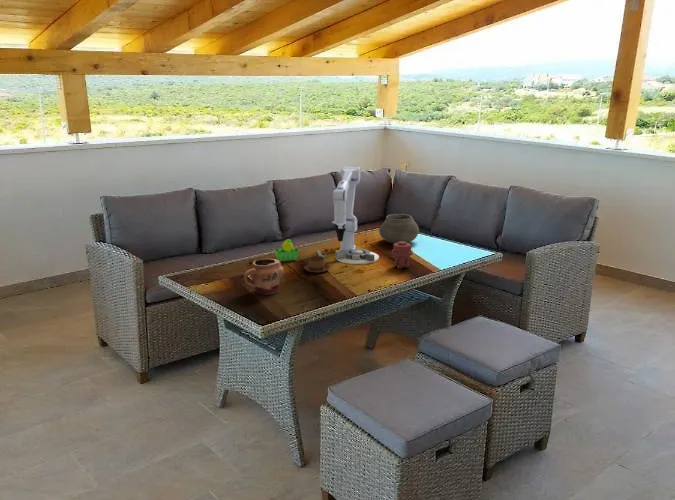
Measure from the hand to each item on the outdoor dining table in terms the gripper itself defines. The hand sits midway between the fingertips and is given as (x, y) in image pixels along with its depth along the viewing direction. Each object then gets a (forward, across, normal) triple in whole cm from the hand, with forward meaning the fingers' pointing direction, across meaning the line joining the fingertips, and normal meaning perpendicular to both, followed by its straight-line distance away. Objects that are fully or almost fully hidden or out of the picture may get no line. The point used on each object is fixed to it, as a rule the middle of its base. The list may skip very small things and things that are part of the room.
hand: (340, 239), depth 309 cm
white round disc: (+9, +2, +9) cm, 13 cm away
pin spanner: (+10, -4, -10) cm, 14 cm away
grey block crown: (+8, +2, +7) cm, 11 cm away
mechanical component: (+10, +19, +29) cm, 36 cm away
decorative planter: (+9, +54, -34) cm, 64 cm away
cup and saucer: (+10, +23, -12) cm, 27 cm away
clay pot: (+10, -27, +33) cm, 44 cm away
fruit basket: (+10, +4, -27) cm, 29 cm away
